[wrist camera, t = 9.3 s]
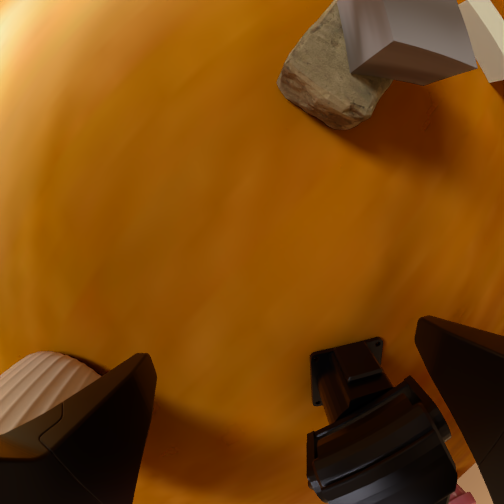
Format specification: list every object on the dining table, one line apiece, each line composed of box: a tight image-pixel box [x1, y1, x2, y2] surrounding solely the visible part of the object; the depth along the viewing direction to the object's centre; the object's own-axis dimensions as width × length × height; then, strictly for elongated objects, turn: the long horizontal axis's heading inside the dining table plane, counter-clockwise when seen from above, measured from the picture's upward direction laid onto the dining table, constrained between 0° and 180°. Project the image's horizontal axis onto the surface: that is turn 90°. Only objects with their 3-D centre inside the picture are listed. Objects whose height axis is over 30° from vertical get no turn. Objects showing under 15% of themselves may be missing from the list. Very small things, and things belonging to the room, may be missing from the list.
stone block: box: [277, 0, 393, 130], centre depth 14 cm, size 6×12×5 cm, turn 149°
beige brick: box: [458, 0, 504, 83], centre depth 13 cm, size 8×5×4 cm, turn 37°
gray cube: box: [337, 0, 477, 86], centre depth 9 cm, size 5×5×5 cm
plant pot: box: [448, 484, 476, 504], centre depth 29 cm, size 14×14×13 cm
